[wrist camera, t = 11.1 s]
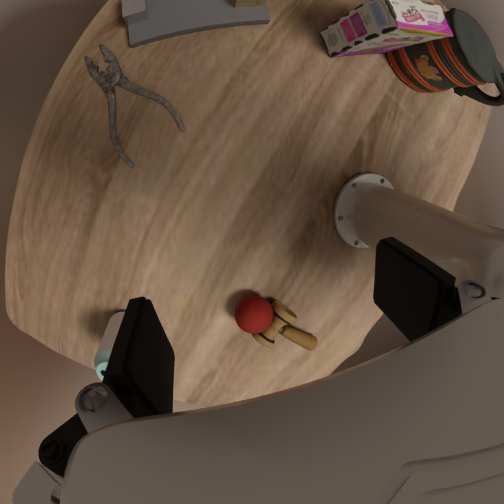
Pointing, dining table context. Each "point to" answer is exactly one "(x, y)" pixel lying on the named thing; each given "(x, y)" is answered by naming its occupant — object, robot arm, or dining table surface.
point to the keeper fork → (248, 3)
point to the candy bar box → (385, 27)
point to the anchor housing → (134, 11)
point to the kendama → (270, 322)
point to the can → (107, 344)
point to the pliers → (117, 77)
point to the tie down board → (192, 18)
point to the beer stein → (452, 61)
